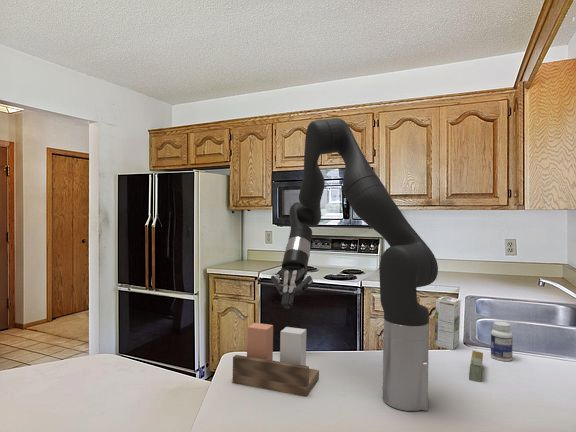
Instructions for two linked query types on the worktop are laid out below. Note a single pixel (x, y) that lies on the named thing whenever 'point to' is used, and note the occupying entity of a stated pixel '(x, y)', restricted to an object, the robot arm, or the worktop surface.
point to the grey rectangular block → (293, 346)
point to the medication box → (476, 366)
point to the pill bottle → (501, 342)
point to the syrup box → (447, 322)
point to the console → (274, 375)
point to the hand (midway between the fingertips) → (286, 307)
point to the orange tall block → (260, 341)
